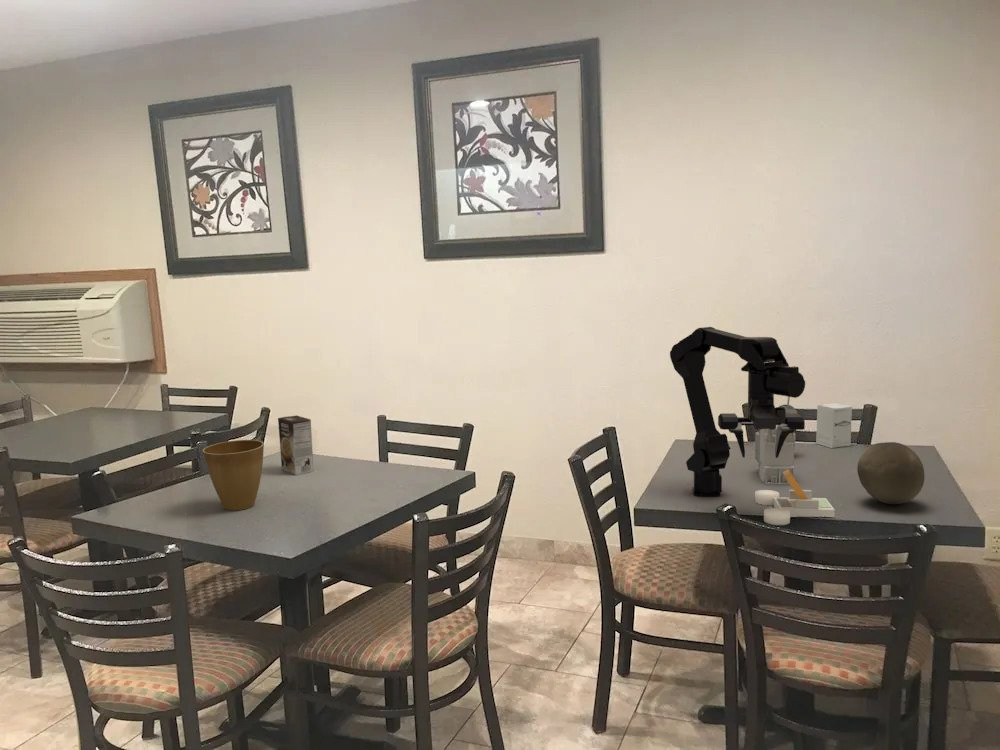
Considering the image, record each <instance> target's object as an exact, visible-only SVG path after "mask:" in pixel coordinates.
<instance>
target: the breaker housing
mask: <svg viewBox="0 0 1000 750" xmlns="http://www.w3.org/2000/svg"><path fill="white" fill-rule="evenodd" d="M802 491H803V492H804V494H805V496H806V497H807V499H799V497H798V496H797V494H796V492H795V491H794V489H788V497H780V496H779V497H773V505H774V506H773V505H772V506H773V508H774V507H775V508H782V509H786V510H788V511H790V518H791V517H796V516H822V517H824V516H826V517H835V514H836V510H835V508H834V507H833V506H832V504H831V503H830V502H829V500H828V499H827V498H826V497H812V496H813V495H812V493H813V492H812V490H811V489H802ZM835 518H836V517H835Z"/></svg>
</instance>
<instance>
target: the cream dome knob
mask: <svg viewBox="0 0 1000 750" xmlns="http://www.w3.org/2000/svg"><path fill="white" fill-rule="evenodd" d="M773 497H780V493H779V492H778V491H776V490H771V489H759V490H755V492H754V502H755V503H756V504H757V503H758V505H760V504H762V505H761V506H767V505H772V506H773Z"/></svg>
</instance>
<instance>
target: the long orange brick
mask: <svg viewBox="0 0 1000 750" xmlns="http://www.w3.org/2000/svg"><path fill="white" fill-rule="evenodd" d="M783 474H784V475H785V477H786V479H787V480H788V482H789V483H790V484H789V485H790V486H791V487H792V490H794V491H795V492H796V494H797V496H798V497H799V499H807V497H806V496H805V494H804V492H803V491H802V490H803V489H802V488H801V486H800V485H799V483H798V482H797V480H796V478H795V476H794V477H793V475H792V474H791V473H790V471H789V470H786V471H784V472H783Z"/></svg>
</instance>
